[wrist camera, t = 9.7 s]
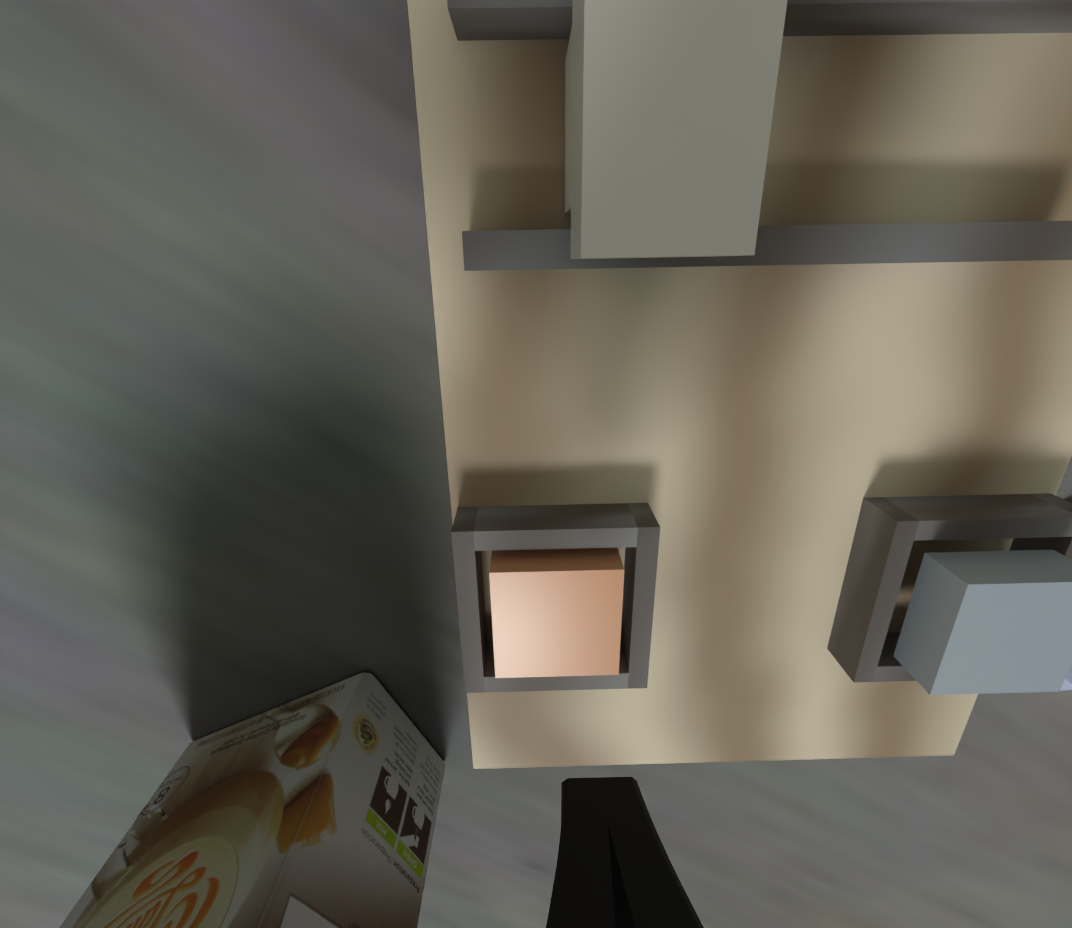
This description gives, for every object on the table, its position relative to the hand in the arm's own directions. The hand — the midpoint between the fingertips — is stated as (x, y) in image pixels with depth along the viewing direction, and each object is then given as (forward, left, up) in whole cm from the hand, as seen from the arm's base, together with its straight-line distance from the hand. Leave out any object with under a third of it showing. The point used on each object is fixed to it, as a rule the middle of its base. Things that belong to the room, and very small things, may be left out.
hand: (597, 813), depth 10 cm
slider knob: (-1, -12, -7) cm, 14 cm away
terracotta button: (+1, 0, -6) cm, 6 cm away
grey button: (-11, 0, -5) cm, 13 cm away
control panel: (-5, -4, -9) cm, 12 cm away
